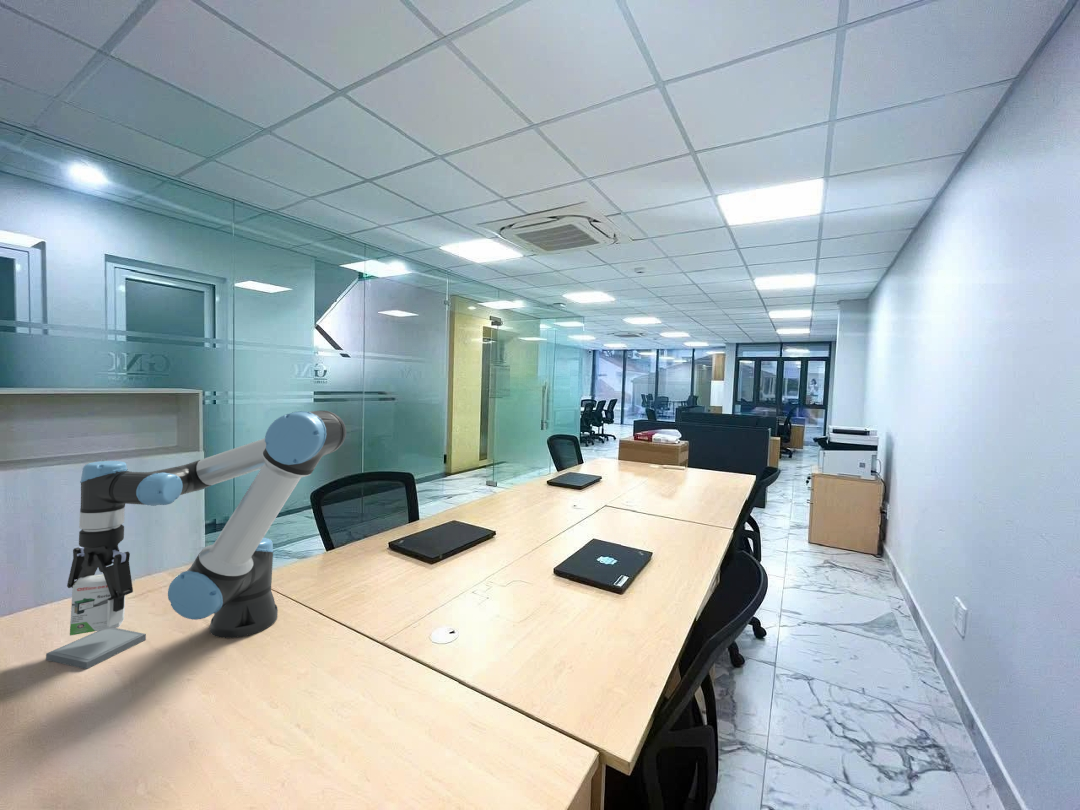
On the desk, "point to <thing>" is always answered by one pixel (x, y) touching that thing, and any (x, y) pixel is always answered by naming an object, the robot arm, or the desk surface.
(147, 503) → the robot arm
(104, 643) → the slate pad
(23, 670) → the desk surface
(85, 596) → the ink box
